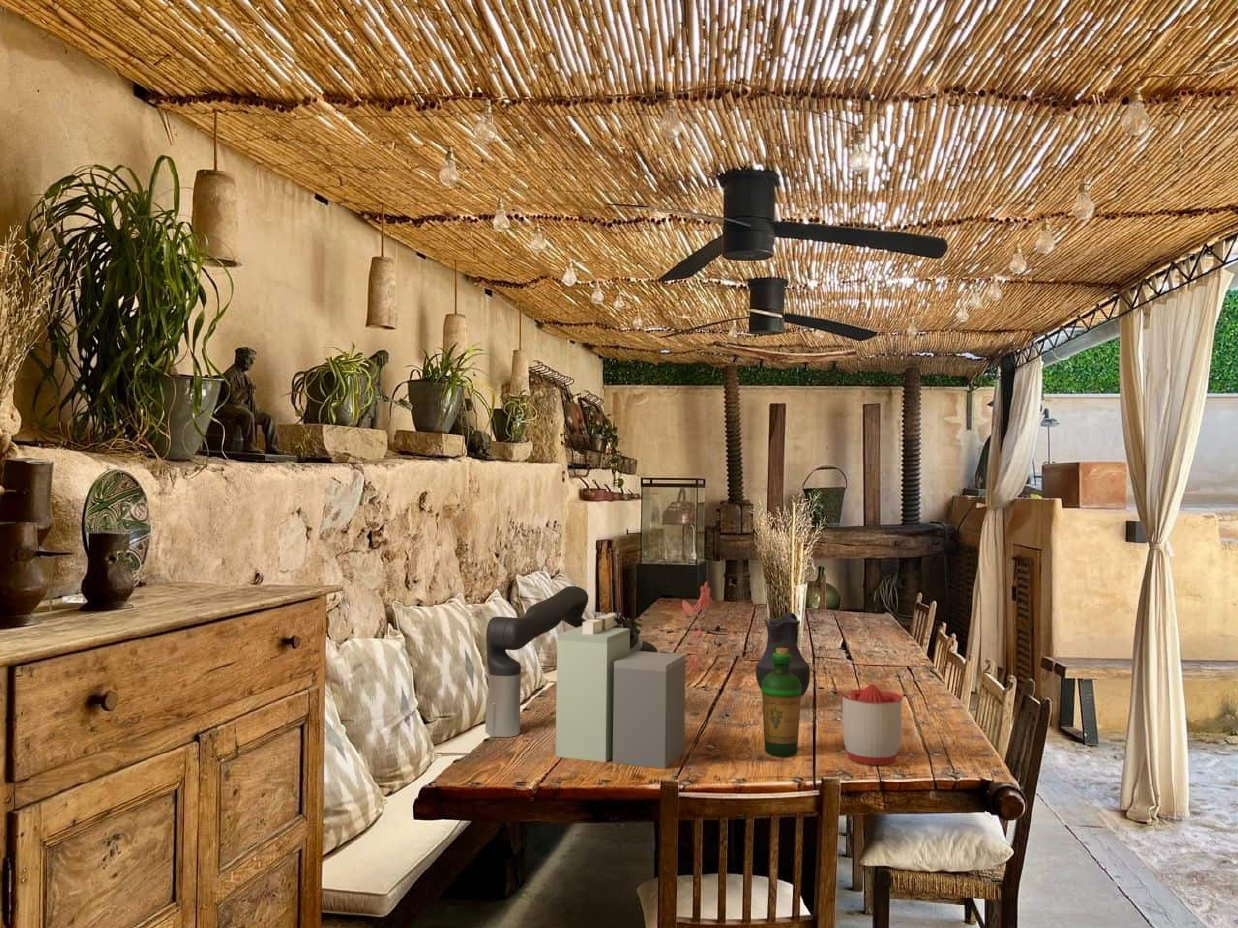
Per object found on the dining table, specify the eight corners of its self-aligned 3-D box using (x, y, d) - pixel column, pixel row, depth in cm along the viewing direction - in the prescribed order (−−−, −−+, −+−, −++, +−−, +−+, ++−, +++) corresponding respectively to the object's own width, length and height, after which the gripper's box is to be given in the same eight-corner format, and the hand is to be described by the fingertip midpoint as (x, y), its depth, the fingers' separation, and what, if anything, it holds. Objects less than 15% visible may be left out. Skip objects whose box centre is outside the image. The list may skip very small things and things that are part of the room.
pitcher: (748, 709, 314) (749, 615, 314) (769, 697, 332) (770, 609, 333) (800, 715, 305) (801, 619, 306) (819, 703, 324) (820, 612, 325)
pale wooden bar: (610, 622, 279) (610, 612, 279) (620, 623, 278) (620, 612, 278) (582, 633, 258) (582, 622, 258) (593, 634, 257) (593, 622, 257)
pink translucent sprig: (675, 676, 366) (678, 583, 367) (696, 665, 390) (699, 578, 390) (714, 681, 360) (717, 586, 361) (733, 669, 384) (736, 580, 385)
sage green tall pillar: (581, 740, 273) (582, 625, 273) (628, 745, 268) (629, 628, 269) (555, 756, 256) (557, 634, 256) (605, 762, 251) (607, 637, 252)
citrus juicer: (851, 747, 268) (851, 674, 269) (911, 759, 257) (912, 683, 258) (824, 759, 256) (825, 683, 257) (887, 772, 245) (887, 692, 246)
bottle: (770, 759, 255) (771, 652, 256) (754, 749, 265) (755, 646, 266) (807, 757, 258) (808, 651, 259) (790, 746, 268) (791, 645, 269)
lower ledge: (635, 745, 267) (636, 650, 268) (684, 751, 262) (685, 654, 263) (612, 762, 250) (614, 661, 251) (664, 768, 246) (666, 665, 246)
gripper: (607, 625, 292) (589, 601, 278) (651, 627, 287) (635, 604, 273) (602, 648, 288) (584, 625, 274) (647, 651, 284) (631, 628, 270)
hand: (610, 615), depth 274 cm, fingers closed on pale wooden bar, 3 cm apart
